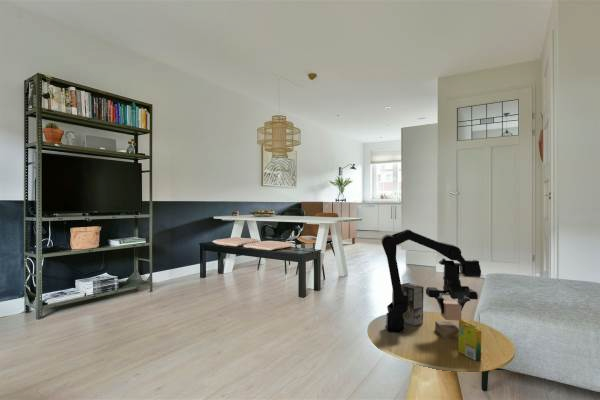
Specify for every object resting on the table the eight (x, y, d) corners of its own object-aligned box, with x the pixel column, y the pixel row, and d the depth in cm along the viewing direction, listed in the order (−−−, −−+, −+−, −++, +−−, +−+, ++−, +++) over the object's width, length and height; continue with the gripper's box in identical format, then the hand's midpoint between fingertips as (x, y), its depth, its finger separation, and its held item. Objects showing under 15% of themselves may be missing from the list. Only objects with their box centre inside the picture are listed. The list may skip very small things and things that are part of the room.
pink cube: (445, 319, 135) (445, 304, 135) (440, 314, 141) (441, 300, 141) (461, 320, 134) (461, 305, 134) (455, 315, 140) (456, 301, 140)
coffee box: (423, 323, 150) (424, 286, 150) (413, 325, 146) (414, 288, 146) (407, 317, 157) (408, 282, 157) (397, 319, 154) (398, 283, 154)
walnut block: (444, 339, 133) (444, 329, 133) (435, 330, 142) (435, 321, 142) (467, 339, 133) (467, 329, 133) (456, 331, 142) (456, 321, 142)
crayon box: (481, 359, 116) (482, 325, 116) (475, 361, 115) (475, 326, 115) (464, 350, 123) (464, 318, 123) (457, 351, 122) (458, 319, 122)
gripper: (433, 279, 131) (432, 320, 131) (484, 281, 129) (483, 322, 129) (425, 273, 142) (425, 310, 142) (472, 275, 140) (471, 313, 140)
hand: (450, 314), depth 138 cm, fingers closed on pink cube, 6 cm apart
